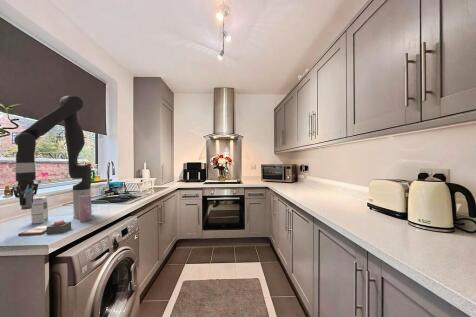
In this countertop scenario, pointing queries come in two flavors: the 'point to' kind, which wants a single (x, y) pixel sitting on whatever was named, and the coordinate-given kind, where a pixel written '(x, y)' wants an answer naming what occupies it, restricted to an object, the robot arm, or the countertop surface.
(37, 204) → the syrup box
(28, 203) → the green lidded grey container
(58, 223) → the button
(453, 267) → the countertop surface
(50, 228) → the button box
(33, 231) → the drawing board
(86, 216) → the tall pink box
